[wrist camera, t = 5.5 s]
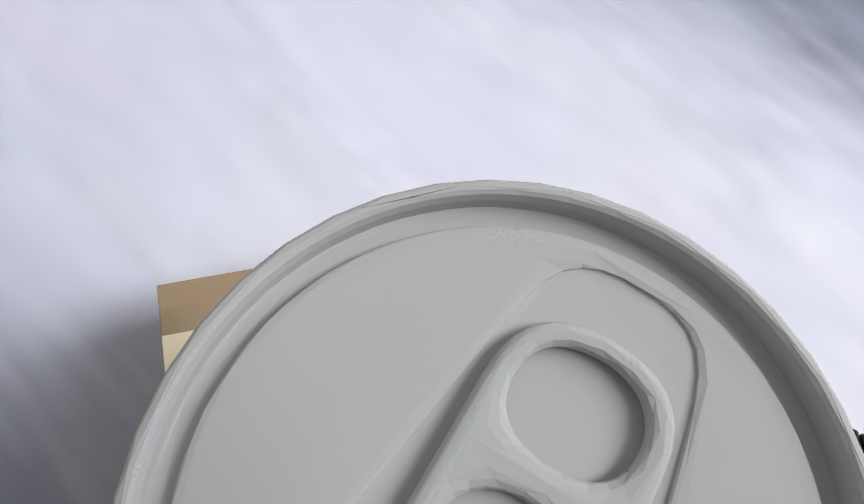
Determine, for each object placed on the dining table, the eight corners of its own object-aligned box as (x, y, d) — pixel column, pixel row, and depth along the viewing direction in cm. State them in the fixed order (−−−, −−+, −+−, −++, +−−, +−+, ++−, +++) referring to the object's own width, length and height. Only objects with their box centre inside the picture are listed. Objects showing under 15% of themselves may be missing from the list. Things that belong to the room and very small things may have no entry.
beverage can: (248, 517, 15) (-213, 748, 3) (383, 311, 16) (373, -1, 5) (460, 660, 14) (752, 1503, 3) (577, 433, 16) (1068, 392, 4)
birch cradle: (640, 579, 17) (692, 608, 14) (233, 681, 16) (198, 736, 13) (552, 245, 19) (581, 211, 16) (193, 310, 18) (157, 285, 15)
